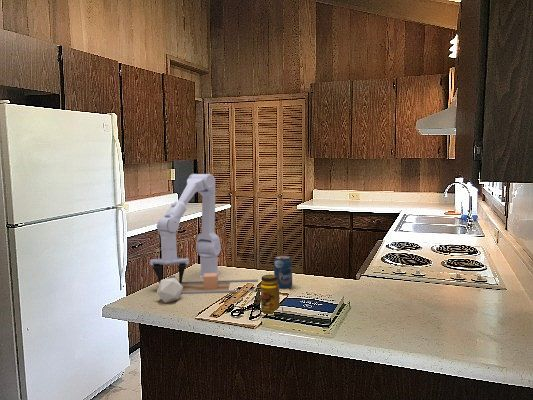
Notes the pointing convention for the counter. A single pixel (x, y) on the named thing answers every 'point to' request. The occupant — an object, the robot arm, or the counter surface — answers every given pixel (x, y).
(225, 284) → the large flat tan board
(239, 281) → the lane rails
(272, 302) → the condiment
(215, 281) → the cube
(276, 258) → the soda can
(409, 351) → the counter surface
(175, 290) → the die
